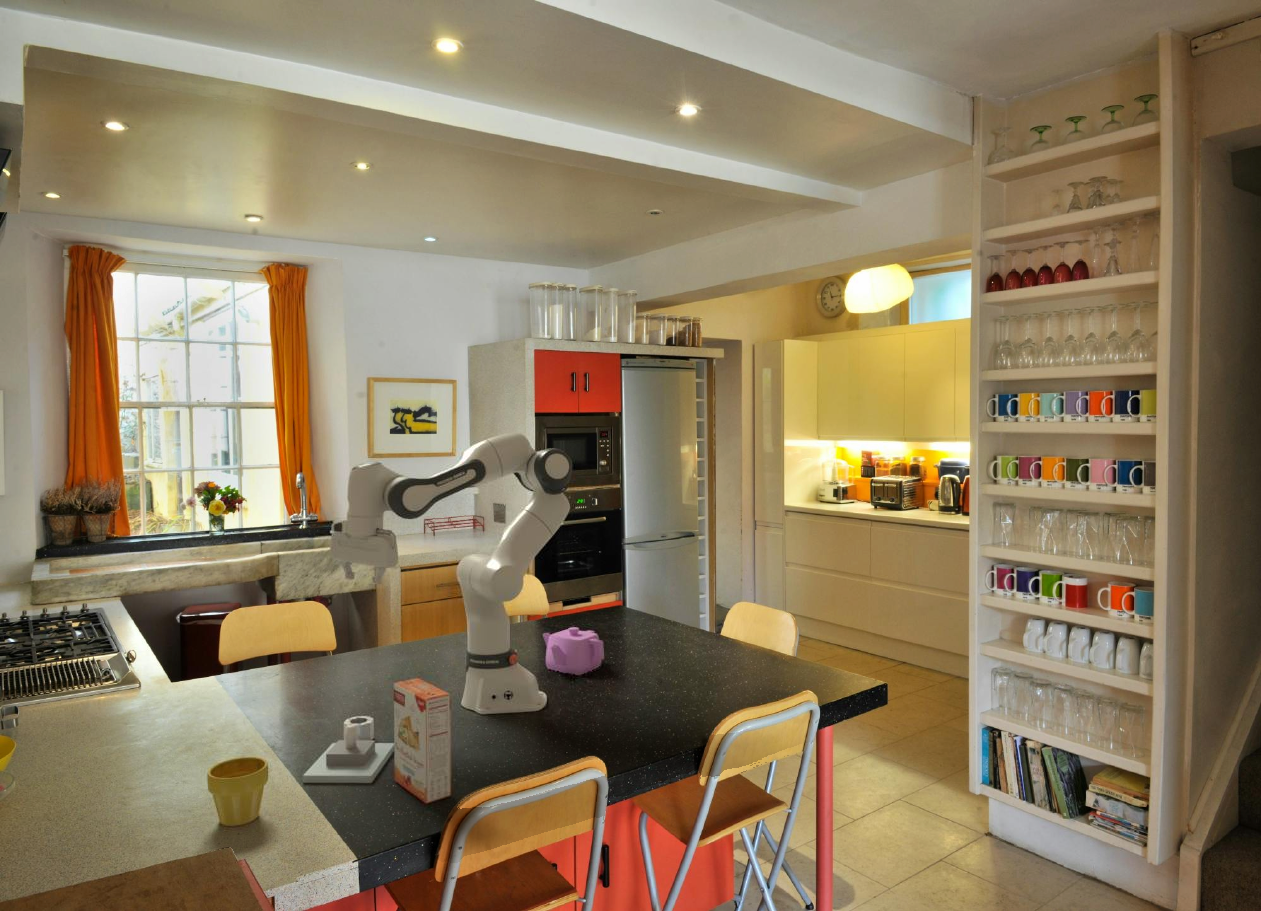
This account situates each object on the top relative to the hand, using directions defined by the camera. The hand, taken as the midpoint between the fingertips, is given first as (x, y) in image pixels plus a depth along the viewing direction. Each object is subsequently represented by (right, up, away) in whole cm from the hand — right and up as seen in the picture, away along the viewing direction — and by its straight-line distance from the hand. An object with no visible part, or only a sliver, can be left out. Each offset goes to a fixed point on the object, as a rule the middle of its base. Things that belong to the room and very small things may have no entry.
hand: (363, 581), depth 215 cm
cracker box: (+25, -36, -42) cm, 61 cm away
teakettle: (+49, -33, +45) cm, 74 cm away
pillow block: (+7, -35, -31) cm, 47 cm away
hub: (+4, -35, -16) cm, 38 cm away
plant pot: (-6, -36, -56) cm, 67 cm away
